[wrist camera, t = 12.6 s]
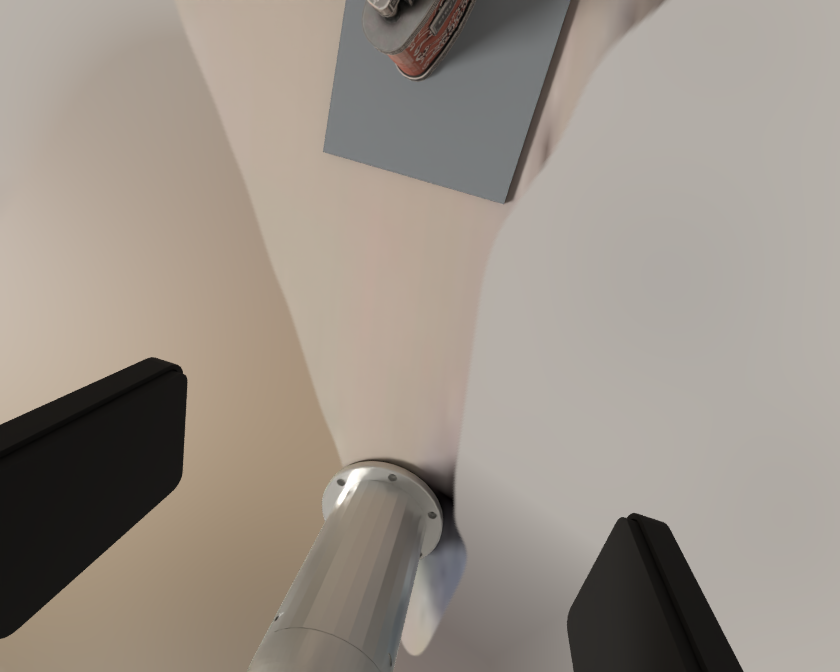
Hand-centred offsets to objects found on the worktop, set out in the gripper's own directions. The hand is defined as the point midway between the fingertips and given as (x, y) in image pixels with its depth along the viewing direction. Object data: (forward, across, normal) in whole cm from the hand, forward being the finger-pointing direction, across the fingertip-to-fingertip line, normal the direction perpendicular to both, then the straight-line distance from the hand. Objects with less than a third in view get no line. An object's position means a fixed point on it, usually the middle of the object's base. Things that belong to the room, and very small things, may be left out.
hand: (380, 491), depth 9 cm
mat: (+25, +6, -16) cm, 30 cm away
